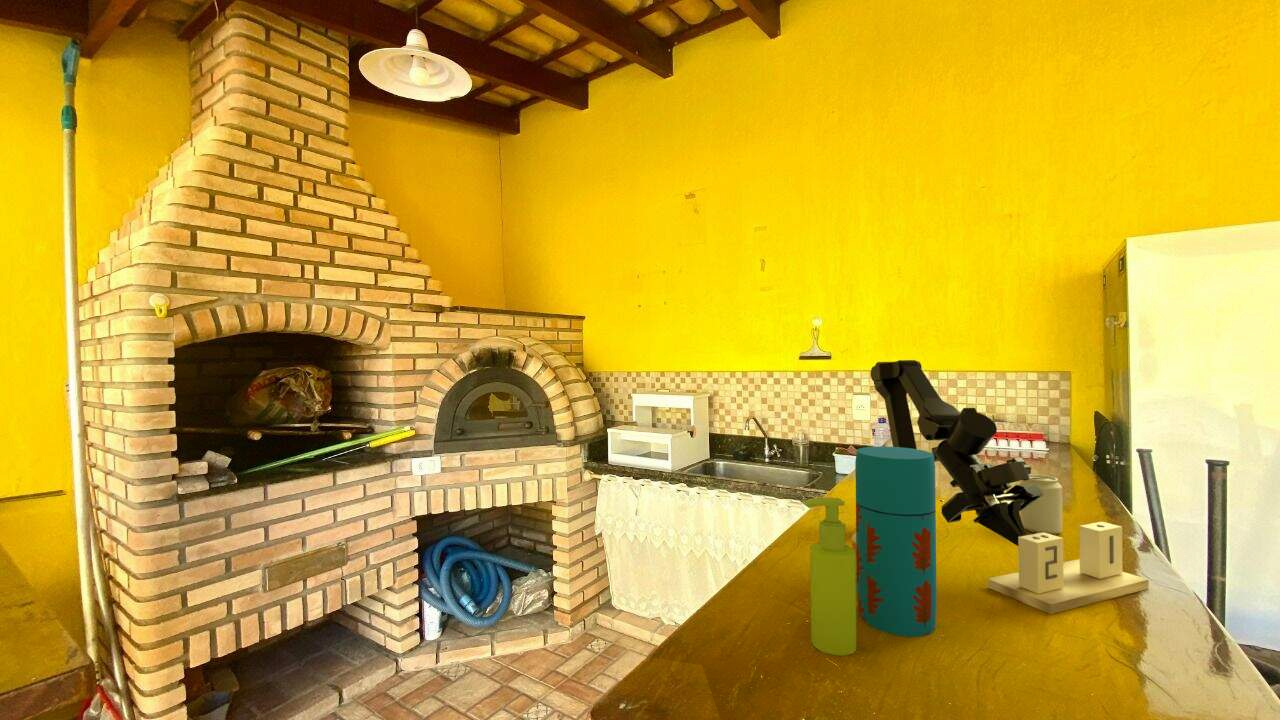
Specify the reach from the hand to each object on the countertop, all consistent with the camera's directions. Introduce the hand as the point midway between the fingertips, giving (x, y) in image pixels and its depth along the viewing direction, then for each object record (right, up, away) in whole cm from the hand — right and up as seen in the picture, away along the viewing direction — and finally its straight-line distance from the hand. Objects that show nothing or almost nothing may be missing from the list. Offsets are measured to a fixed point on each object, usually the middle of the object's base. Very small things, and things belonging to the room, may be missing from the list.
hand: (1026, 547), depth 88 cm
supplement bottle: (-23, -8, +7) cm, 26 cm away
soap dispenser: (-38, -8, -15) cm, 42 cm away
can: (+25, -7, +30) cm, 40 cm away
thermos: (-26, -8, -8) cm, 28 cm away
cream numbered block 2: (+1, -6, -2) cm, 6 cm away
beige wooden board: (+8, -7, +1) cm, 11 cm away
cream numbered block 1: (+15, -5, +3) cm, 16 cm away
